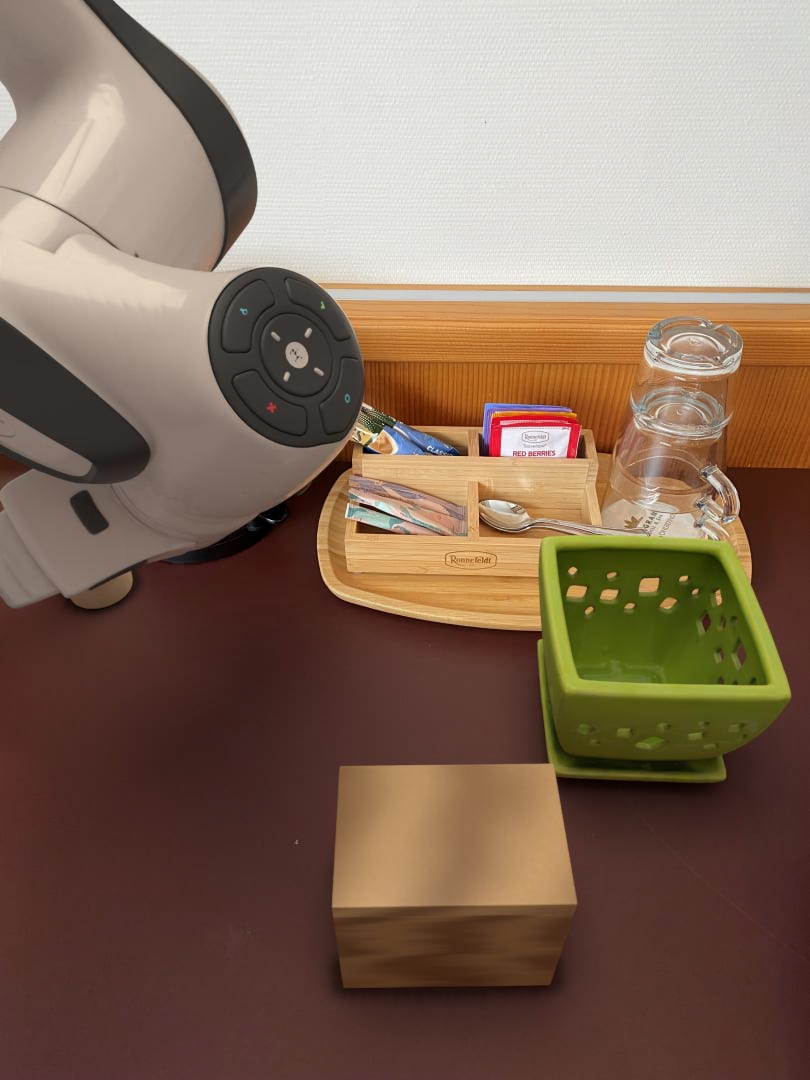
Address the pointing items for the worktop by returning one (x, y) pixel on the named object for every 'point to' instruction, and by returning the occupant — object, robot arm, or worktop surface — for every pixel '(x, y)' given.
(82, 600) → the candle
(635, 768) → the flower pot
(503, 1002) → the worktop surface
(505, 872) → the wooden crate-shaped block
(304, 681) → the worktop surface
